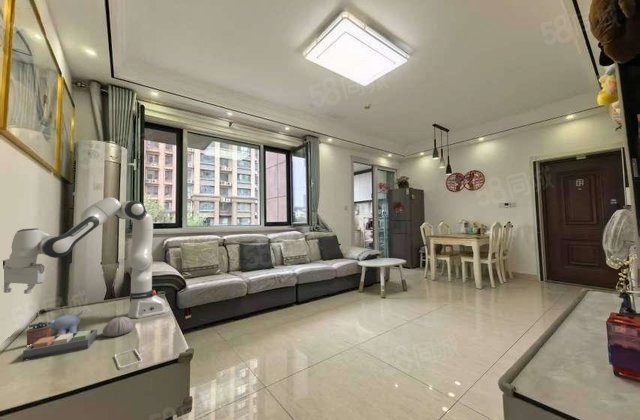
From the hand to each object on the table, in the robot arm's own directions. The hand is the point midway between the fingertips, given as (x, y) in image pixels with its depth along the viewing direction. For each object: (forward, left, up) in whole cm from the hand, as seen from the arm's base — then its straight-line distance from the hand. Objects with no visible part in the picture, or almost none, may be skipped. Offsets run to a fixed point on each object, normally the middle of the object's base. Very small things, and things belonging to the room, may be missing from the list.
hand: (17, 293), depth 122 cm
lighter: (-7, -3, -26) cm, 27 cm away
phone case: (-49, +39, -26) cm, 68 cm away
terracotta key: (-13, +10, -23) cm, 28 cm away
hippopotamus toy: (-12, -15, -26) cm, 32 cm away
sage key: (-26, +10, -23) cm, 36 cm away
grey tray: (-20, +10, -26) cm, 34 cm away
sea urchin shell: (-39, +2, -26) cm, 47 cm away
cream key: (-20, +10, -23) cm, 32 cm away
